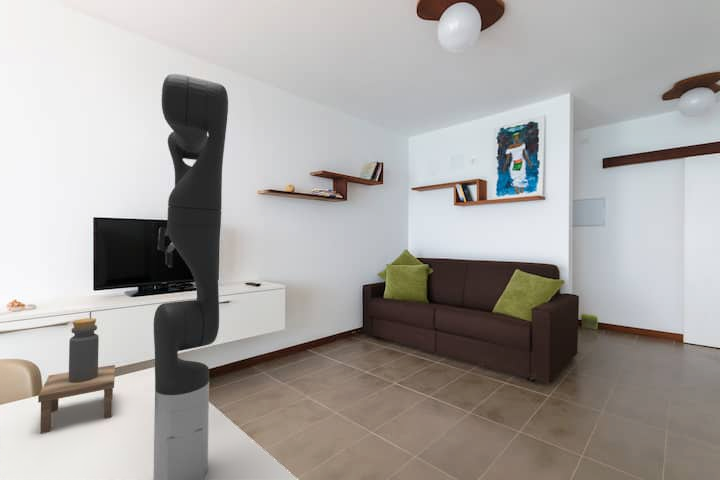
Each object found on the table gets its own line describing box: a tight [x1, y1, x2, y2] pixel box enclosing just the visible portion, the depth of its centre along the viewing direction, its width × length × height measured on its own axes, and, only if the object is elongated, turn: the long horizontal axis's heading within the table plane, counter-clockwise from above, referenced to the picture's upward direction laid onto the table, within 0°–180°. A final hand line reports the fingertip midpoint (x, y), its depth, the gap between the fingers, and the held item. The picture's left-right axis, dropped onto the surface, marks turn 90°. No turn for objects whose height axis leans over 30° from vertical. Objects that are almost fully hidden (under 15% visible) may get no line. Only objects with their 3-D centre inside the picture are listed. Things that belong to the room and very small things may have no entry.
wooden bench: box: [37, 364, 116, 434], centre depth 86 cm, size 14×14×9 cm
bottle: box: [68, 317, 100, 382], centre depth 87 cm, size 6×6×15 cm
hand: (188, 266), depth 90 cm, fingers open, 8 cm apart
